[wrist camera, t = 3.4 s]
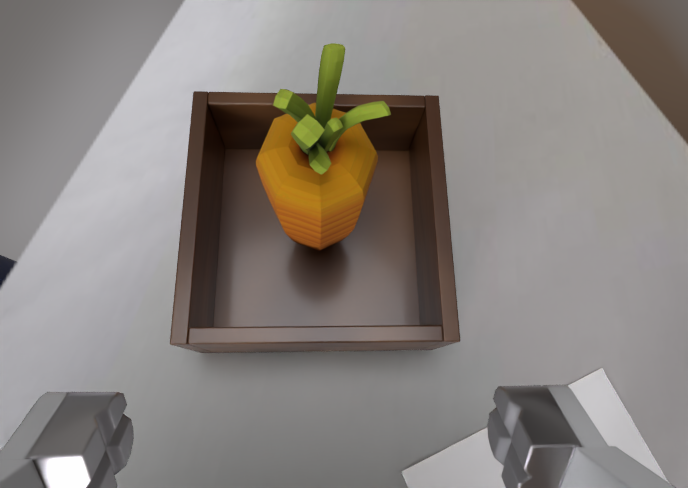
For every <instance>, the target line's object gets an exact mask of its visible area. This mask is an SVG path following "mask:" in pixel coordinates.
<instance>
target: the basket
mask: <svg viewBox="0 0 688 488" xmlns="http://www.w3.org/2000/svg"><path fill="white" fill-rule="evenodd" d="M295 94H296V95H298V96H299V97H300V98H302V99H303V100H304V101H305V102H306V103H307V104H308V105H310V104H312V103H316V100H317V94H297V93H295ZM276 95H277V93H241V92H209V93H208V92H196V91H195V92H194V93H193V104H192V114H191V125H190V135H189V146H188V157H187V167H186V178H185V188H184V199H183V210H182V220H181V231H180V241H179V252H178V263H177V273H176V284H175V295H174V305H173V316H172V326H171V337H170V345H174V346H177V347H181V348H185V349H189V350H193V351H197V352H200V353H228V352H310V351H391V350H433V349H436V348H440V347H443V346H446V345H449V344H453V343H456V342H459V341H460V333H459V321H458V310H457V299H456V287H455V276H454V265H453V253H452V242H451V231H450V219H449V208H448V197H447V185H446V174H445V163H444V151H443V140H442V129H441V117H440V106H439V96H425V97H424V96H410V95H354V94H336V98H335V102H334V106H333V109H336V110H339V111H342V112H345V113H347V112H348V111H350V110H352V109H354V108H355V107H357V106H359V105H363V104H367V103H371V102H377V101H384V102H385V103H386V104H387V106H388V107H389V109H390V112H391V114H390V115H388V116H384V117H379V118H375V119H369V120H365V121H363V122H360V124H361V126H362V128H363V129H364V131H365V133H366V135H367V136H368V138H369V140H370V142H371V143H372V145H373V147H374V149H375V150H376V152H377V155H378V162H377V165H376V168H375V171H374V174H373V177H372V180H371V183H370V186H369V189H368V192H367V195H366V198H365V201H364V203H363V206H362V209H361V212H360V215H359V218H358V220H357V223H356V225H355V228H354V230H353V231H352V232H351V233H350V234H349V235H348V236H347V237H346V238H344V239H343V240H342V241H340V242H337V243H335V244H333V245H331V246H329V247H327V248H324V249H322V250H320V251H319V250H316V249H313V248H310V247H307V246H304V245H301V244H298V243H296V242H294V241H293V240H292V239H290V238H289V236H288V235H287V234H286V233H285V232H284V230H283V228H282V226H281V223H280V221H279V219H278V217H277V215H276V213H275V211H274V209H273V207H272V205H271V203H270V201H269V198H268V196H267V194H266V191H265V189H264V187H263V184H262V181H261V178H260V175H259V172H258V170H257V167H256V159H257V156H258V154H259V152H260V150H261V147H262V145H263V143H264V141H265V138H266V136H267V134H268V131H269V129H270V127H271V125H272V122H273V120H274V119H275V118H277V117H280V116H282V115H285V114H287V113H285V112H283V111H282V110H280V109H278V108H277V107H275V106H273V103H274V100H275V96H276Z"/></svg>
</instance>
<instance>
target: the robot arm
mask: <svg viewBox="0 0 688 488" xmlns="http://www.w3.org/2000/svg"><path fill="white" fill-rule="evenodd" d="M493 400H494V402H495V404H496V408H495V409H494V410H493V411H492V412H491V413H490V414H489V419H488V424H487V427H488V439H489V444H490V448H491V450H492V453H493V456H494V458H495V459H497V460H498V461H499V462H500V463H501V464H502V465H504V468H503V471H502V475H501V477H502V479H503V482H504V485H505V487H506V488H676V487H674V486H673V485H671V484H670V483H669V482H667V481H666V480H664V479H663V478H661V477H660V476H658V475H657V474H655V473H654V472H652V471H651V470H649V469H648V468H647V467H645V466H644V465H642V464H641V463H639V462H638V461H636V460H635V459H633V458H632V457H630V456H629V455H628V454H626V453H625V452H623V451H622V450H620V449H619V448H617V447H616V446H608V445H607V443H606V442H605V440H604V438H603V437H602V435H601V434H600V432H599V431H598V429H597V428H596V426H595V425H594V423H593V422H592V420H591V419H590V417H589V416H588V414H587V413H586V411H585V410H584V408H583V407H582V405H581V404H580V402H579V401H578V399H577V397H576V396H575V394H574V393H573V391H572V390H571V388H569V387H568V386H567V385H543V386H541V385H533V386H499V387H498V388H497V389H496V391H495V394H494V398H493ZM126 406H127V403H126V400H125V397H124V394H123V393H119V392H47V393H45V394H44V395H42V396H41V397H40V398H39V399H38V400H37V401H36V403H35V404H34V406H33V407H32V408H31V410H30V411H29V413H28V414H27V415H26V417H25V418H24V420H23V421H22V422H21V424H20V425H19V427H18V428H17V429H16V431H15V432H14V434H13V435H12V436H11V438H10V439H9V441H8V442H7V443H6V445H5V446H4V448H3V449H2V450H1V452H0V488H117V483H116V479H115V476H114V475H115V474H117V473H118V472H119V471H120V470H121V469H122V468H124V467H125V466H126V464H127V461H128V459H129V456H130V454H131V449H132V444H133V439H134V437H133V425H132V421H131V419H130V418H128V417H127V416H126V415H125V414H123V412H124V410H125V408H126Z"/></svg>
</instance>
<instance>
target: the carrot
mask: <svg viewBox="0 0 688 488" xmlns="http://www.w3.org/2000/svg"><path fill="white" fill-rule="evenodd" d="M344 54H345V47H344V46H343V45H341V44H328V45H325V46H324V48H323V51H322V55H321V62H320V69H319V78H318V89H317V100H316V103H312V104H310V105H308V104H307V103H306V102H305V101H304V100H303V99H302V98H300V97H299V96H298V95H296V94H295V93H293V92H291V91H289V90H286V89H280V90H279V92H278V93H277V95H276V96H275V100H274V103H273V106H275V107H277V108H278V109H280V110H282V111H283V112H285V113H287V114H285V115H282V116H280V117H277V118H275V119H274V120H273V122H272V125H271V127H270V129H269V131H268V134H267V136H266V138H265V141H264V143H263V145H262V147H261V150H260V152H259V154H258V156H257V159H256V167H257V170H258V172H259V175H260V178H261V181H262V184H263V187H264V189H265V191H266V194H267V196H268V198H269V201H270V203H271V205H272V207H273V209H274V211H275V213H276V215H277V217H278V219H279V221H280V223H281V226H282V228H283V230H284V232H285V233H286V234H287V235H288V236H289V238H290V239H292V240H293V241H294V242H296V243H298V244H301V245H304V246H307V247H310V248H313V249H316V250H319V251H320V250H322V249H324V248H327V247H329V246H331V245H333V244H335V243H337V242H340V241H342V240H343V239H344V238H346V237H347V236H348V235H349V234H350V233H351V232H352V231H353V230H354V228H355V225H356V223H357V220H358V218H359V215H360V212H361V209H362V206H363V203H364V201H365V198H366V195H367V192H368V189H369V186H370V183H371V180H372V177H373V174H374V171H375V168H376V165H377V162H378V155H377V152H376V150H375V149H374V147H373V145H372V143H371V142H370V140H369V138H368V136H367V135H366V133H365V131H364V129H363V128H362V126H361V124H360V122H363V121H365V120H369V119H375V118H379V117H384V116H388V115H390V114H391V112H390V109H389V107H388V106H387V104H386V103H385V102H384V101H377V102H371V103H367V104H363V105H359V106H357V107H355V108H354V109H352V110H350V111H348V112H347V113H345V112H342V111H339V110H336V109H333V106H334V102H335V98H336V93H337V89H338V85H339V81H340V76H341V71H342V67H343V62H344Z"/></svg>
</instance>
